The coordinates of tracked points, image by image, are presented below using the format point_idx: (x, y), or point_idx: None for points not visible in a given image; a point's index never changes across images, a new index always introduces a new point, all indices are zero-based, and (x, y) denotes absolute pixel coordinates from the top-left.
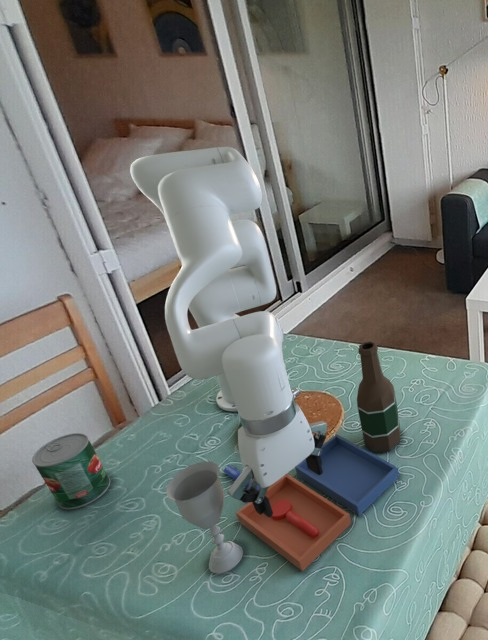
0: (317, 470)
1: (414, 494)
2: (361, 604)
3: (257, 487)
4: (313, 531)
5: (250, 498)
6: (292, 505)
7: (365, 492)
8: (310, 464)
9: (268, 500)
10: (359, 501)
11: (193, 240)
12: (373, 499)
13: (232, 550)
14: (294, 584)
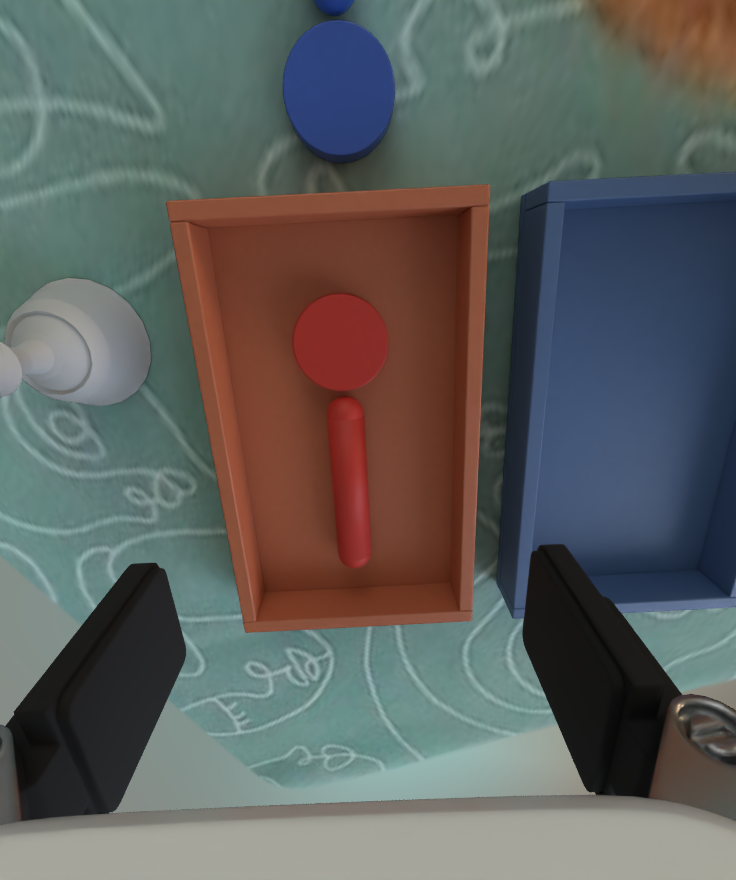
0: (538, 674)
1: None
2: (307, 756)
3: (347, 86)
4: (350, 564)
5: None
6: (389, 354)
7: (584, 542)
8: (553, 633)
9: (121, 794)
10: None
11: None
12: None
13: (85, 391)
14: (220, 607)
